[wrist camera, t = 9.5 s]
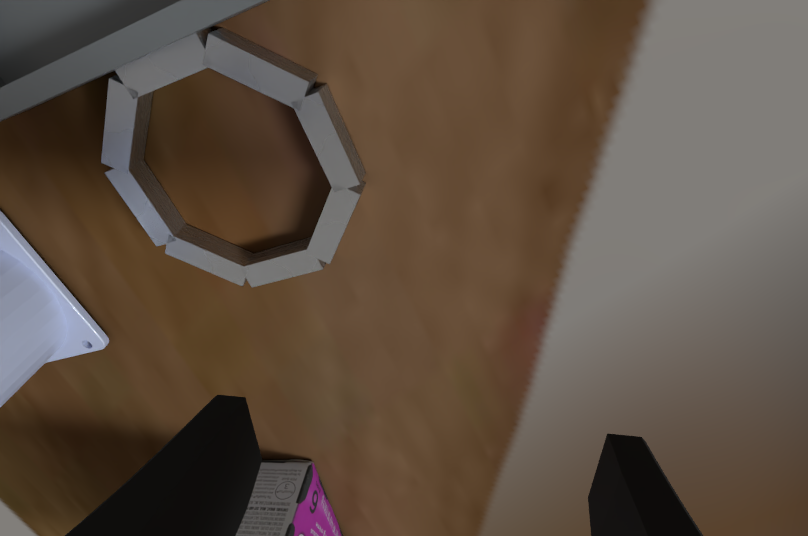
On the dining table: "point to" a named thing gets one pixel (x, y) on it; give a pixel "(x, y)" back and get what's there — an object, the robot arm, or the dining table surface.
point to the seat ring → (267, 76)
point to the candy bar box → (288, 502)
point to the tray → (89, 40)
